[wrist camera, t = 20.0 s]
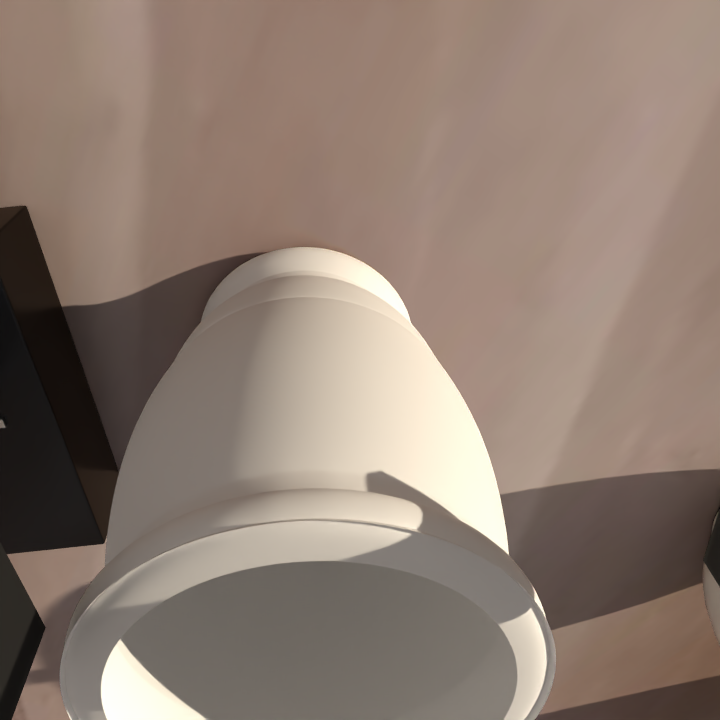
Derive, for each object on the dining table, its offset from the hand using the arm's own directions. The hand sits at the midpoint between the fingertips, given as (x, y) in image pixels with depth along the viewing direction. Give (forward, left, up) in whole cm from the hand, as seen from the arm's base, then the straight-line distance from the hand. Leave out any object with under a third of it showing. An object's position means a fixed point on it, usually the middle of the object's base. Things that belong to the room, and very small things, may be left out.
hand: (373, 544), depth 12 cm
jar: (+2, +4, -15) cm, 15 cm away
